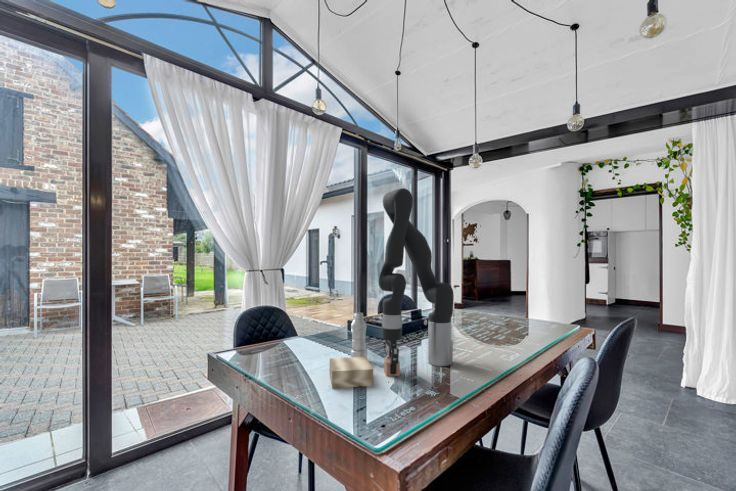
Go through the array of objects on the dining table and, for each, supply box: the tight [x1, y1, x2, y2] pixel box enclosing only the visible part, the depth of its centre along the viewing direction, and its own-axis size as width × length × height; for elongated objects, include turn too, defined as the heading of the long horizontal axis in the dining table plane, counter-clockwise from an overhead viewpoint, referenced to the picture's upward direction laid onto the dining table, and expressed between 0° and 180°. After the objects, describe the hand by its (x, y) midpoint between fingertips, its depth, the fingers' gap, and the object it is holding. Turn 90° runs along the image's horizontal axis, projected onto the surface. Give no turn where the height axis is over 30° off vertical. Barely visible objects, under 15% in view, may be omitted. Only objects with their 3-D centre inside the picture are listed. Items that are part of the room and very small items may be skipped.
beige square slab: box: [329, 356, 374, 389], centre depth 123 cm, size 14×14×6 cm
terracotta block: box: [383, 357, 401, 377], centre depth 129 cm, size 5×5×5 cm
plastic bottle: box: [350, 312, 368, 358], centre depth 143 cm, size 6×7×20 cm
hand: (391, 371), depth 129 cm, fingers closed on terracotta block, 5 cm apart
